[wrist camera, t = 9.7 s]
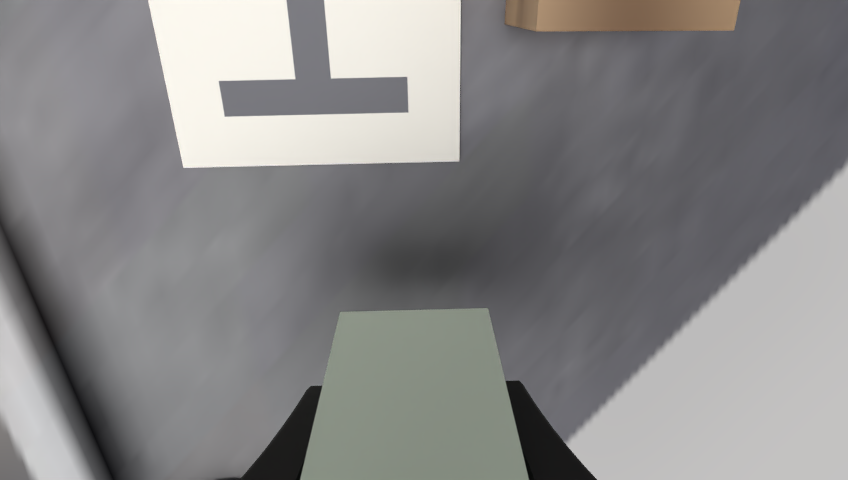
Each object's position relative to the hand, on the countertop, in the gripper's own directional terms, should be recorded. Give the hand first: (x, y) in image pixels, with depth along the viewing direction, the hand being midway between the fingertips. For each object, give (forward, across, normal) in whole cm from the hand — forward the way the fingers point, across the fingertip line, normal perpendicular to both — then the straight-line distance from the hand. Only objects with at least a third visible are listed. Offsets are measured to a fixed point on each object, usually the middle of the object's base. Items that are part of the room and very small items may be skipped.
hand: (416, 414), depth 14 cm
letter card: (+9, +3, -9) cm, 13 cm away
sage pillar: (+2, 0, 0) cm, 2 cm away
